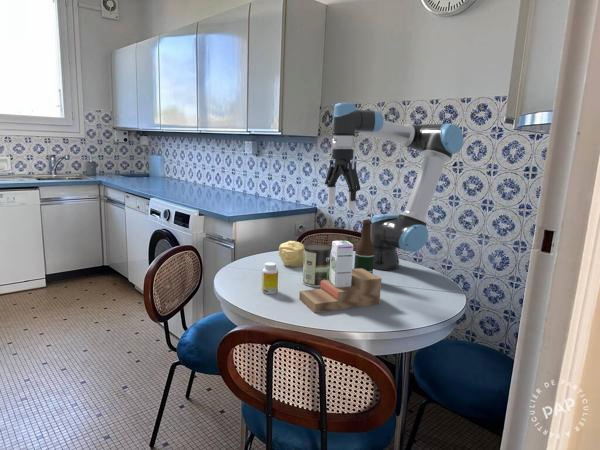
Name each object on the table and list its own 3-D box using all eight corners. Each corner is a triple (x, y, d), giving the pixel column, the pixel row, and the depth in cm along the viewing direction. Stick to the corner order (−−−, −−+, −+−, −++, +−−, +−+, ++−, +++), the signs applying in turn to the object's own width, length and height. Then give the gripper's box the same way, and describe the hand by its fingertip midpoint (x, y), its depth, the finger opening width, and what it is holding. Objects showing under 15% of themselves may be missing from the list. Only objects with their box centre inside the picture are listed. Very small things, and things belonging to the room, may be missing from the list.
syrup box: (351, 287, 136) (354, 244, 134) (334, 287, 135) (337, 244, 132) (345, 281, 142) (348, 240, 139) (329, 282, 140) (331, 240, 138)
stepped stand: (360, 292, 150) (361, 268, 148) (379, 304, 139) (381, 278, 137) (299, 299, 140) (300, 273, 138) (314, 313, 129) (316, 285, 128)
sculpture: (274, 265, 178) (275, 241, 175) (289, 259, 188) (290, 236, 186) (297, 270, 172) (298, 245, 170) (311, 264, 182) (313, 240, 180)
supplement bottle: (280, 293, 145) (281, 265, 143) (265, 295, 142) (265, 266, 140) (273, 288, 150) (274, 260, 148) (259, 290, 147) (260, 262, 145)
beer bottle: (367, 285, 158) (372, 223, 153) (349, 281, 162) (353, 220, 157) (375, 280, 164) (380, 220, 160) (357, 276, 168) (361, 217, 164)
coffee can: (330, 280, 162) (333, 244, 159) (327, 288, 152) (329, 251, 149) (304, 277, 164) (306, 242, 161) (299, 285, 154) (301, 248, 151)
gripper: (317, 147, 157) (315, 202, 162) (353, 149, 135) (351, 213, 140) (334, 147, 161) (332, 201, 165) (372, 149, 139) (369, 212, 143)
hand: (340, 207), depth 152 cm, fingers open, 13 cm apart
